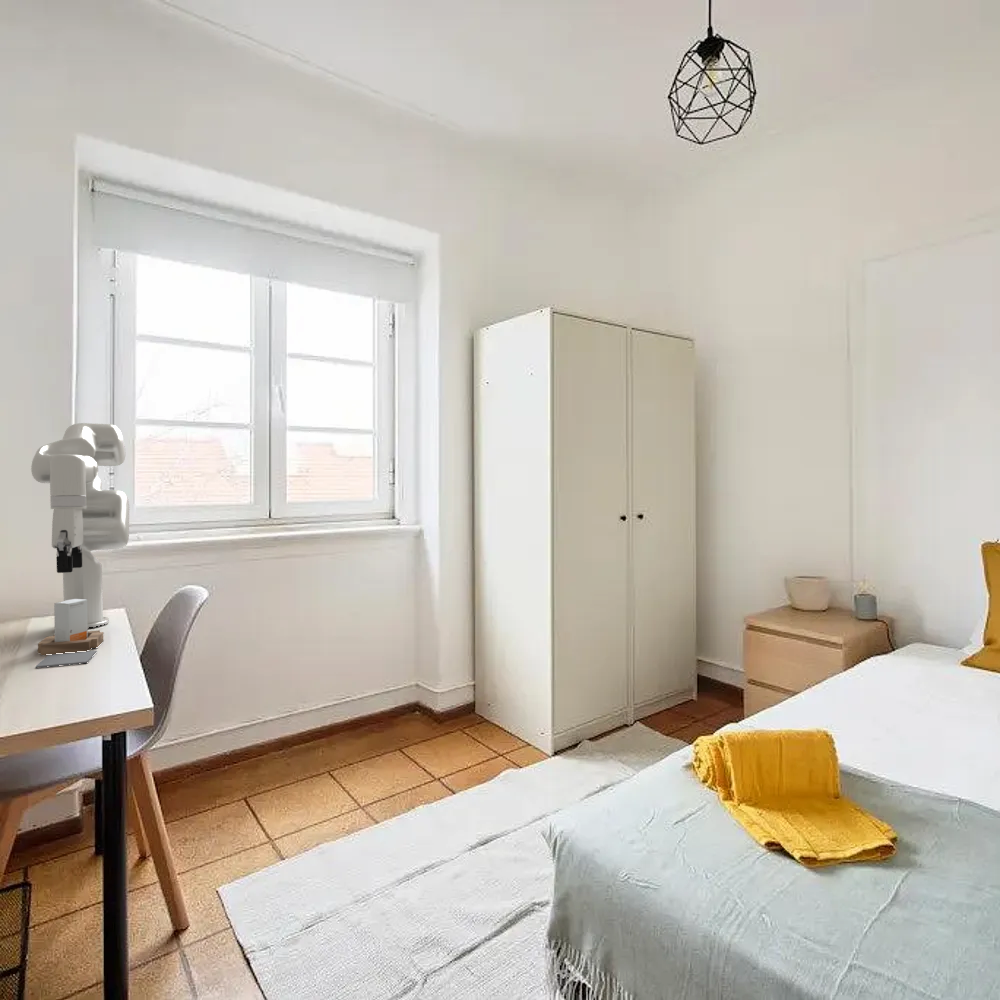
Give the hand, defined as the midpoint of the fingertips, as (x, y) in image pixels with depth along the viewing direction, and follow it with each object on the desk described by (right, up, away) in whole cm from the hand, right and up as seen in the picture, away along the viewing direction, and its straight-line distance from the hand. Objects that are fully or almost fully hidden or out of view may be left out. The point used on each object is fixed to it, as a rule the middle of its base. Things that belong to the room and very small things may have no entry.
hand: (70, 570), depth 158 cm
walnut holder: (0, -20, +1) cm, 20 cm away
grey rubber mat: (+7, -20, -10) cm, 24 cm away
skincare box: (0, -20, +1) cm, 20 cm away
